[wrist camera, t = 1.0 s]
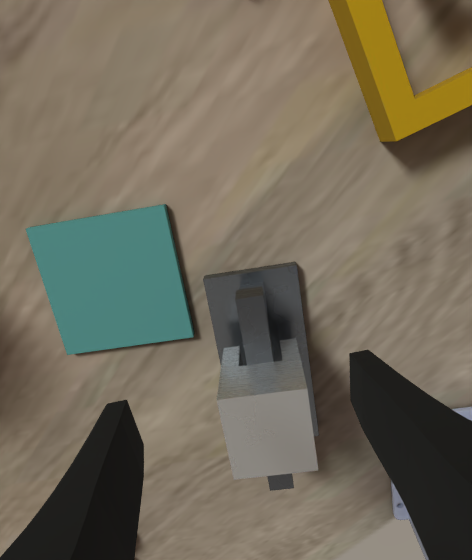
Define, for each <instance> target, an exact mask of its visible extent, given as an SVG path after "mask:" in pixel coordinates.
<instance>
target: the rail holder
mask: <svg viewBox="0 0 472 560" xmlns="http://www.w3.org/2000/svg"><path fill="white" fill-rule="evenodd" d="M203 281H204V285H205V290H206V295H207V300H208V305H209V310H210V315H211V320H212V324H213V329H214V334H215V339H216V344H217V349H218V354H219V359H220V363H221V365H222V358H223V350H224V348H227V347H235V346H240V350H241V356H242V361H243V366H245V365H253V364H260V363H268V362H276V361H283V360H282V353H281V346H280V340H286V339H293V338H296V341H297V345H298V350H299V354H300V358H301V363H302V367H303V372H304V376H305V381H306V385H307V390H308V397H309V405H310V412H311V420H312V427H313V434H314V436H319V432H318V425H317V417H316V409H315V402H314V394H313V386H312V379H311V371H310V364H309V356H308V348H307V341H306V333H305V325H304V318H303V310H302V302H301V295H300V287H299V279H298V272H297V265H296V262H291V263H284V264H278V265H271V266H265V267H258V268H252V269H245V270H239V271H232V272H225V273H219V274H212V275H206V276H204V279H203ZM268 482H269V487H270V491H271V490H281V489H290V488H294V485H293V476H292V473H291V474H281V475H272V476H268Z"/></svg>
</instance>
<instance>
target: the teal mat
mask: <svg viewBox="0 0 472 560" xmlns="http://www.w3.org/2000/svg"><path fill="white" fill-rule="evenodd" d="M26 232H27V235H28V238H29V241H30V244H31V247H32V250H33V253H34V256H35V259H36V262H37V265H38V268H39V271H40V274H41V277H42V280H43V283H44V286H45V289H46V292H47V295H48V298H49V301H50V304H51V307H52V310H53V313H54V316H55V319H56V322H57V325H58V328H59V331H60V334H61V337H62V340H63V343H64V346H65V349H66V352H67V355H70V354H77V353H84V352H91V351H98V350H105V349H113V348H120V347H127V346H134V345H141V344H148V343H155V342H163V341H170V340H177V339H184V338H191V337H194V329H193V324H192V320H191V315H190V311H189V306H188V302H187V297H186V293H185V288H184V284H183V279H182V275H181V270H180V266H179V261H178V257H177V252H176V248H175V243H174V239H173V234H172V230H171V225H170V221H169V216H168V211H167V207H166V204H163V205H158V206H152V207H146V208H140V209H134V210H128V211H122V212H116V213H110V214H105V215H99V216H93V217H87V218H81V219H75V220H69V221H63V222H58V223H52V224H46V225H40V226H34V227H29V228H27V229H26Z"/></svg>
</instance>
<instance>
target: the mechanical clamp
mask: <svg viewBox="0 0 472 560" xmlns="http://www.w3.org/2000/svg"><path fill="white" fill-rule="evenodd" d="M329 3H330V6H331V9H332V11H333V14H334V17H335V20H336V22H337V25H338V28H339V30H340V33H341V36H342V39H343V41H344V44H345V47H346V50H347V52H348V55H349V58H350V60H351V63H352V66H353V69H354V71H355V74H356V77H357V80H358V82H359V85H360V88H361V91H362V93H363V96H364V99H365V101H366V104H367V107H368V110H369V112H370V115H371V118H372V121H373V123H374V126H375V129H376V131H377V134H378V137H379V140H380V142H388V141H398V140H400V139H402V138H404V137H406V136H409V135H411V134H413V133H415V132H417V131H419V130H421V129H423V128H425V127H427V126H429V125H431V124H433V123H436V122H438V121H440V120H442V119H444V118H446V117H448V116H450V115H452V114H454V113H456V112H458V111H460V110H462V109H465V108H467V107H469V106H471V105H472V67H471V68H469V69H467V70H465V71H463V72H461V73H459V74H457V75H455V76H453V77H451V78H449V79H447V80H445V81H443V82H441V83H439V84H437V85H435V86H433V87H431V88H429V89H427V90H425V91H423V92H421V93H419V94H417V95H415V96H414V95H413V92H412V89H411V86H410V83H409V80H408V77H407V74H406V71H405V68H404V65H403V62H402V59H401V56H400V53H399V50H398V47H397V44H396V41H395V38H394V35H393V32H392V29H391V26H390V23H389V20H388V17H387V14H386V11H385V8H384V5H383V2H382V0H329Z"/></svg>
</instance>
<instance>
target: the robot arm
mask: <svg viewBox="0 0 472 560" xmlns="http://www.w3.org/2000/svg"><path fill="white" fill-rule="evenodd" d="M349 355H350V396H351V402H352V405H353V407H354V410H355V412H356V415H357V417H358V420H359V422H360V424H361V427H362V429H363V431H364V433H365V435H366V436H367V438H368V440H369V442H370V444H371V445H372V447H373V449H374V451H375V452H376V454H377V456H378V458H379V460H380V461H381V463H382V465H383V467H384V468H385V470H386V472H387V474H388V475H389V477H390V479H391V490H392V505H393V514H394V516H395V518H396V519H398V520H405V519H409V521H410V523H411V526H412V528H413V530H414V533H415V535H416V538H417V540H418V542H419V545H420V547H421V550H422V552H423V554H424V557H425V559H426V560H472V407H465V408H457V409H450V408H448V407H447V406H445V405H444V404H442V403H441V402H439V401H437V400H436V399H434V398H433V397H431V396H430V395H428V394H427V393H426V392H424V391H423V390H421V389H420V388H418V387H417V386H416V385H414V384H413V383H411V382H410V381H409V380H407V379H406V378H404V377H403V376H402V375H400V374H399V373H398V372H396V371H395V370H394V369H393V368H391V367H390V366H389V365H387V364H386V363H385V362H383V361H382V360H381V359H380V358H378V357H377V356H376V355H374V354H373V353H372V352H370V351H369V350H364V351H359V352H354V353H349ZM143 478H144V444H143V441H142V439H141V436H140V434H139V431H138V428H137V426H136V423H135V420H134V418H133V415H132V412H131V410H130V407H129V404H128V402H127V400H123V401H118V402H113V403H108V404H107V405H106V406H105V408H104V410H103V412H102V413H101V415H100V417H99V419H98V420H97V422H96V424H95V426H94V428H93V429H92V431H91V433H90V434H89V436H88V438H87V440H86V441H85V443H84V445H83V446H82V448H81V450H80V451H79V453H78V455H77V456H76V458H75V459H74V461H73V463H72V464H71V466H70V467H69V469H68V470H67V472H66V473H65V475H64V476H63V478H62V479H61V481H60V482H59V484H58V485H57V487H56V488H55V490H54V491H53V493H52V494H51V495H50V497H49V498H48V500H47V501H46V502H45V504H44V505H43V506H42V508H41V509H40V510H39V512H38V513H37V514H36V516H35V517H34V518H33V519H32V521H31V522H30V523H29V524H28V526H27V527H26V528H25V529H24V531H23V532H22V533H21V534H20V535H19V537H18V538H17V539H16V540H15V541H14V542H13V543H12V545H11V546H10V547H9V548H8V549H7V550H6V551H5V552H4V554H3V555H2V556H1V557H0V560H134V557H135V546H136V538H137V530H138V521H139V513H140V505H141V496H142V487H143ZM398 503H401V504H398Z"/></svg>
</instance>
